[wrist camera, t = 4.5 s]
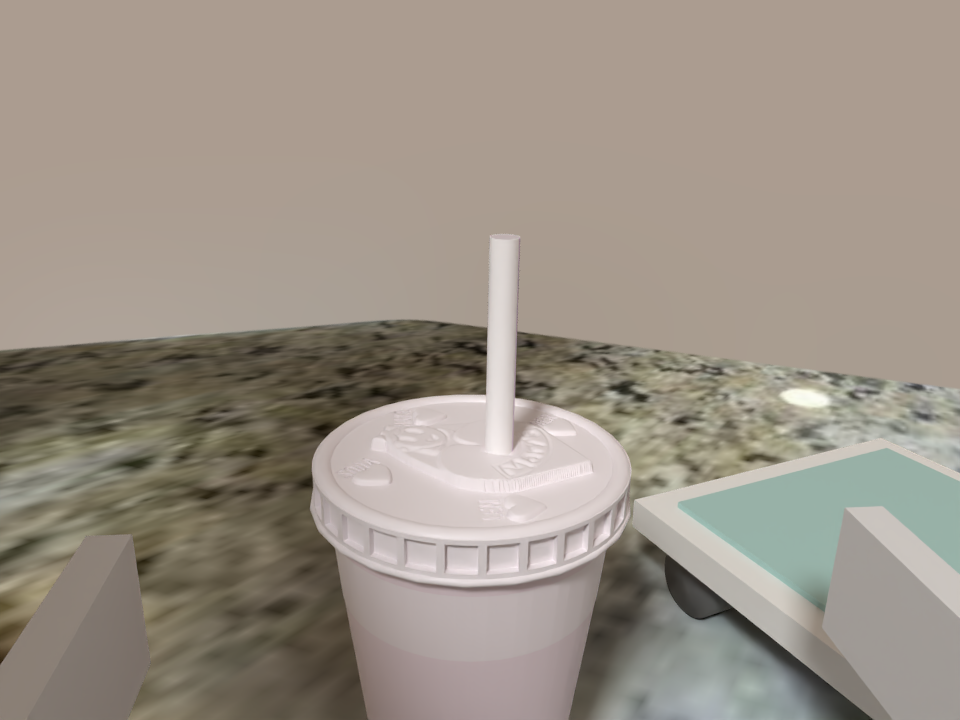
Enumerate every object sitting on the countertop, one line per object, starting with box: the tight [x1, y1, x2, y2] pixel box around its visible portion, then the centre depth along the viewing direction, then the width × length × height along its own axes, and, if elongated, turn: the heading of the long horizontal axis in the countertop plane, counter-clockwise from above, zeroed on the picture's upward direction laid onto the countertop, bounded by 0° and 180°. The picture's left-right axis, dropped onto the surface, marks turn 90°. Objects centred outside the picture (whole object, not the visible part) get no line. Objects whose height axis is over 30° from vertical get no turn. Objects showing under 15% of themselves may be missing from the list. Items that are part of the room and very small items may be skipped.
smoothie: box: [310, 234, 631, 720], centre depth 17 cm, size 6×6×14 cm
